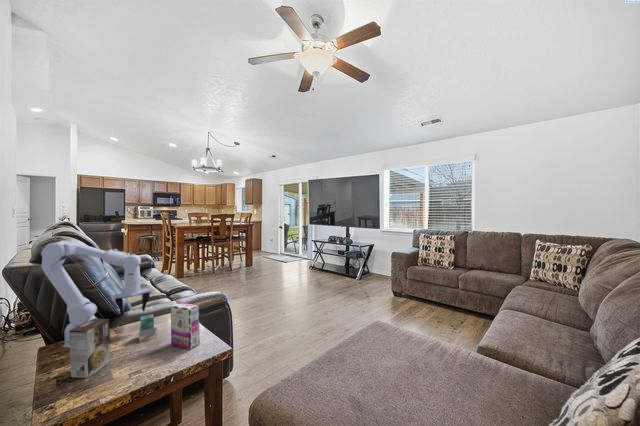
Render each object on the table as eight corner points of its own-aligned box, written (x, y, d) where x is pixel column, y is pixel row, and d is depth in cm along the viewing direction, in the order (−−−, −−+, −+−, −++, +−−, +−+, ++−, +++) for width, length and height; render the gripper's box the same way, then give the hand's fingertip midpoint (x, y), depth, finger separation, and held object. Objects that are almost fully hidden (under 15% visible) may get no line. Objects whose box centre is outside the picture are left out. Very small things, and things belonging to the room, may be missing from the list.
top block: (140, 336, 108) (140, 331, 108) (139, 331, 113) (139, 326, 113) (155, 333, 112) (155, 327, 112) (154, 328, 116) (154, 322, 116)
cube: (141, 330, 108) (141, 320, 108) (140, 327, 112) (140, 316, 112) (154, 327, 111) (153, 317, 111) (152, 324, 115) (152, 314, 115)
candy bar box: (200, 344, 106) (199, 305, 106) (190, 350, 102) (189, 309, 101) (181, 339, 110) (180, 301, 110) (170, 344, 106) (169, 305, 106)
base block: (140, 343, 108) (139, 337, 108) (138, 338, 112) (138, 332, 112) (156, 338, 112) (156, 332, 112) (154, 333, 116) (154, 328, 116)
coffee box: (94, 361, 95) (93, 318, 94) (111, 361, 94) (110, 318, 94) (69, 377, 86) (68, 330, 85) (88, 378, 85) (87, 330, 85)
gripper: (112, 287, 106) (112, 320, 107) (153, 281, 116) (153, 310, 116) (111, 284, 112) (111, 315, 112) (150, 278, 121) (151, 306, 122)
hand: (133, 312), depth 114 cm, fingers open, 7 cm apart
